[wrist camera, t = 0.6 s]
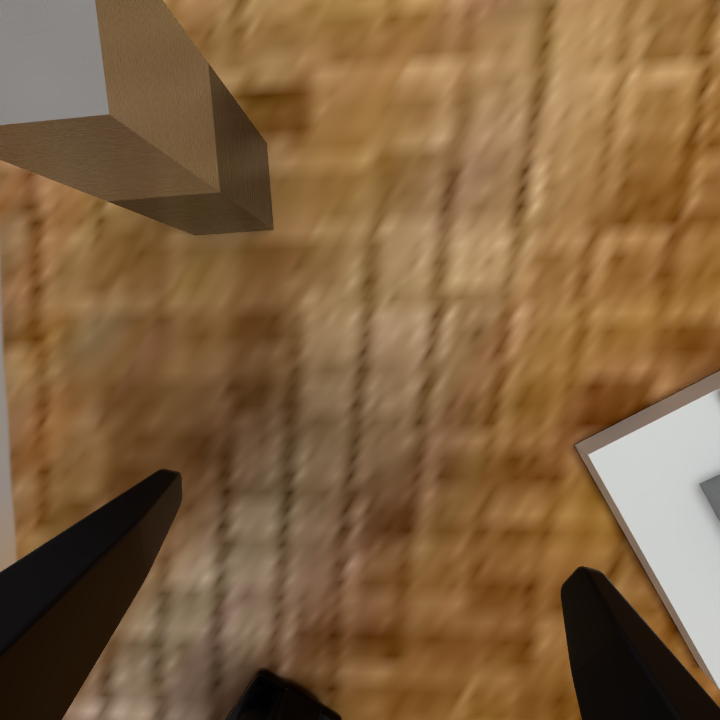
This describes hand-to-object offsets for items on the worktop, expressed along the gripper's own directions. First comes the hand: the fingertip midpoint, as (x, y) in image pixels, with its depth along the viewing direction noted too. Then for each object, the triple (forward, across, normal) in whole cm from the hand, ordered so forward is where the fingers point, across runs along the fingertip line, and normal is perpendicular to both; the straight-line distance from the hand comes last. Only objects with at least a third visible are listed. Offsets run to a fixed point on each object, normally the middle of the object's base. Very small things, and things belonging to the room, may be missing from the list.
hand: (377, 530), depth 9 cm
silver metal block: (+17, +10, -3) cm, 20 cm away
